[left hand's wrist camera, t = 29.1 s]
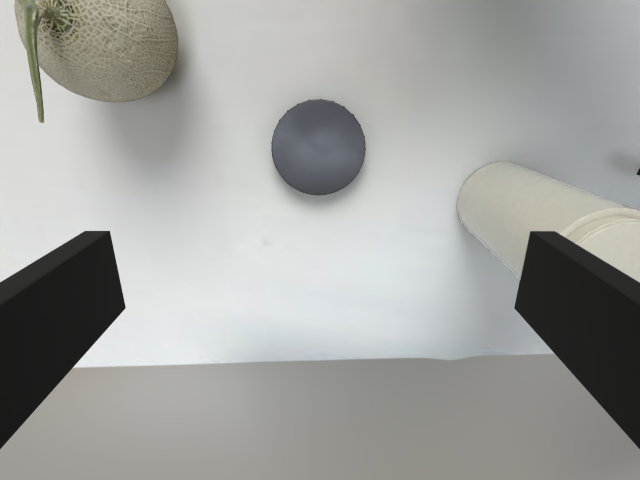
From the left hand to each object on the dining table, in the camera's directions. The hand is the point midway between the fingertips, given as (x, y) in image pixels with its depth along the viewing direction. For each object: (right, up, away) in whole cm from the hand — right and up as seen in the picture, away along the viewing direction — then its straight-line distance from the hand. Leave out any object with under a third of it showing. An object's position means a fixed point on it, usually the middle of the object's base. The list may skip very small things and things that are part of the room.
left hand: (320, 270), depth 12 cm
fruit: (-17, +20, +24) cm, 35 cm away
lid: (0, +10, +26) cm, 28 cm away
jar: (+19, +5, +29) cm, 35 cm away
